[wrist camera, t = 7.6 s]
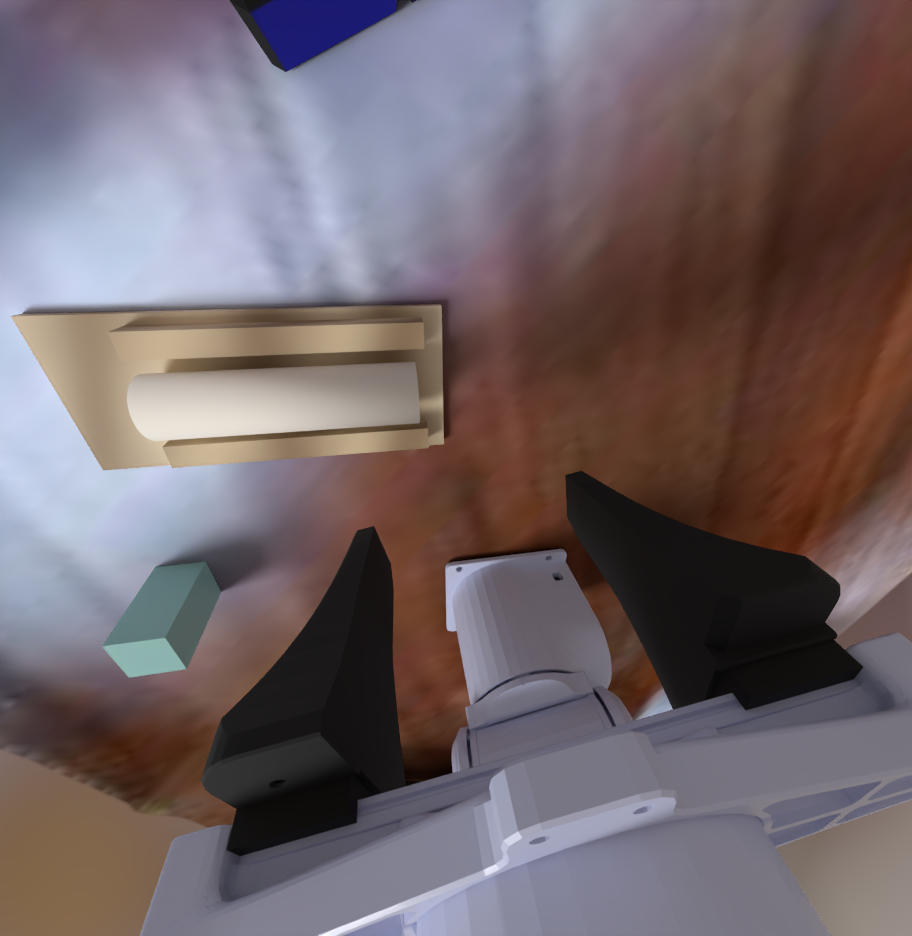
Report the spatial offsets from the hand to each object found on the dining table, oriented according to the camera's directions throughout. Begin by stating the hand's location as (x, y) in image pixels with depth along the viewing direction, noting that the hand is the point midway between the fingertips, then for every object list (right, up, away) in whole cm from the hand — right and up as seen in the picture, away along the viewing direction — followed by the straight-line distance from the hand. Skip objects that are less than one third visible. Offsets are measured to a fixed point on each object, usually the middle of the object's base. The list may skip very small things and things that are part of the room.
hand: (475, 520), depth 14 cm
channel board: (-10, +6, +5) cm, 13 cm away
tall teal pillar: (-19, -6, +11) cm, 22 cm away
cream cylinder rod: (-9, +6, +5) cm, 12 cm away
